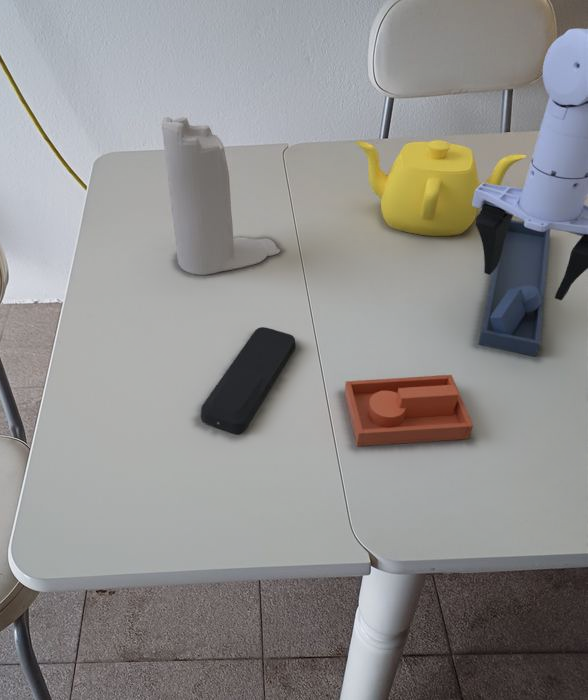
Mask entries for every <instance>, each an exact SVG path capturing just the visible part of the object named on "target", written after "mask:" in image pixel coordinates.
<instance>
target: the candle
mask: <svg viewBox="0 0 588 700" xmlns="http://www.w3.org/2000/svg"><path fill="white" fill-rule="evenodd" d="M161 132H162V141H163V148H164V156H165V164H166V175H167V184H168V192H169V200H170V207H171V208H170V209H171V214H172V221H173V222H172V223H173V232H174V239H175V247H176V256H177V263H178V267H180V268H181V270H183V271H184V272H186V273H189V274H193V275H199V276H201V275H202V276H205V275H212V274H217V273H220V272H221V273H222V272H226V271H227V272H228V271H231V270H237V269H242V268H246V267H249V266H253V265H257V264H260V263H261V262H263V261H265V260H266V259H267V257H270V256H275V255H277V254H279V253H280V252H281V249H279V248H278V247H277V244H276V243H275V242H274V241H273V240H272V239H270V238H256V239H253V238H250V237H245V236H244V237H243V236H240V237H234V230H233V229H234V227H233V226H234V225H233V216H232V215H233V214H232V201H231V200H232V199H231V183H230V172H229V167H228V161H227V156H226V150H225V147H224V145H223V142H222V141H221V138H219V136H218V135H216V134H213V132H212V129H211V127H210V125H206V124H200V125H199V124H198V125H190V123H189V121H188V118H187V117H184V116H183V117H178V118H175V119H172V118H171V117H169V116H167V117H166V116H165V117H163V119H162V121H161Z"/></svg>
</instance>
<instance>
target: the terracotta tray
mask: <svg viewBox="0 0 588 700" xmlns="http://www.w3.org/2000/svg"><path fill="white" fill-rule="evenodd" d="M441 385H455V387H456V389H457V392H458V394H459V395H458V399H457V402H456V406H455V409H454V413H453V415H444V416H429V417H413V418H404V420H403V422H402V423H401V424H400V425H398V426H396V427H392V428H385V427H381V426H378V425H376V424H375V423H373V422H372V421H371V419H370V418H369V416H368V408H369V401H370V398H371V396H372V395H373V394H375V393H376V392H379V391H392V392H395V393H398V388H410V387H425V386H441ZM344 399H345V402H346V407H347V411H348V415H349V419H350V424H351V427H352V431H353V435H354V440H355V444H356V446H357V447H362V446H363V447H364V446H379V445H391V444H392V445H393V444H394V445H395V444H409V443H410V444H411V443H424V442H425V443H426V442H440V441H455V440H457V441H458V440H470V439H471V434H472V431H473V428H474V424H473V422H472V420H471V418H470V415H469V413H468V410H467V408H466V405H465V403H464V401H463V398H462V396H461V394H460V392H459V389H458V387H457V385H456V382H455V380H454V377H453V375H452V374H442V375H440V374H439V375H426V376H411V377H395V378H394V377H393V378H380V379H379V378H378V379H364V380H363V379H362V380H347V381H345V385H344Z"/></svg>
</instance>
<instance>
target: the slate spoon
mask: <svg viewBox="0 0 588 700" xmlns="http://www.w3.org/2000/svg"><path fill="white" fill-rule="evenodd" d="M541 303H542V300H541V297H540V294H539V290H538V288H537V287H535V286H522V287H518V288H516V289H509V290H508V292H507V293H506V295H505V296H504V297H503V299H502V300H501V302H500V303H499V305H498V306H497V307H496V309H495V310H494V312H493V313H492V315H491V316H490V320H491V323H492V326H493V329H494V332H498V333H503V334H508V335H512V334H513V332H514V331H515V329H516V327H517V326H518V324H519V323H520V321H521V320H522V318H523V317H524V315H525V314H526V313H528V312H531V311H533V310H535V309H537V308H538V307H539V306H540V305H541Z"/></svg>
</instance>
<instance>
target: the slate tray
mask: <svg viewBox="0 0 588 700" xmlns="http://www.w3.org/2000/svg"><path fill="white" fill-rule="evenodd" d="M524 223H525V221H521V220H514V219H512V220H511V222H510V225H509V228H508V231H507V233H506V236H505V240H504V244H503V249H502V253H501V257H500V260H499V263H498V266H497V267H496V268H495V270H494V271H493V272H492V273H491V277H490V282H489V288H488V293H487V298H486V304H485V308H484V314H483V317H482V318H483V319H482V324H481V328H480V334H479V339H478V345H480V346H485V347H489V348H493V349H498V350H502V351H507V352H513V353H516V354H521V355H525V356H530V357H536V355H537V353H538V350H539V347H540V346H541V335H542V325H543V315H544V314H543V313H544V304H545V294H546V293H545V292H546V282H547V271H548V259H549V250H550V249H549V248H550V237H551V229H547V230H546V231H544V232H539V231H536V230H532V229H529V228H527V227H525V226H524ZM522 286H535V287H537V288H538V290H539V294H540V297H541V300H542V303H541V305H540V306H539V307H538V308H537V309H535V310H533V311H531V312H528V313H526V314H525V315H524V317H523V318H522V320H521V321H520V323H519V324H518V326H517V327H516V329H515V331H514V332H513V334H512V335H508V334H503V333H498V332H494V329H493V326H492V323H491V320H490V316H491V315H492V313H493V312H494V310H495V309H496V307H497V306H498V305H499V303H500V302H501V300H502V299H503V297H504V296H505V295H506V293H507V292H508V290H509V289H516V288H518V287H522Z"/></svg>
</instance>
